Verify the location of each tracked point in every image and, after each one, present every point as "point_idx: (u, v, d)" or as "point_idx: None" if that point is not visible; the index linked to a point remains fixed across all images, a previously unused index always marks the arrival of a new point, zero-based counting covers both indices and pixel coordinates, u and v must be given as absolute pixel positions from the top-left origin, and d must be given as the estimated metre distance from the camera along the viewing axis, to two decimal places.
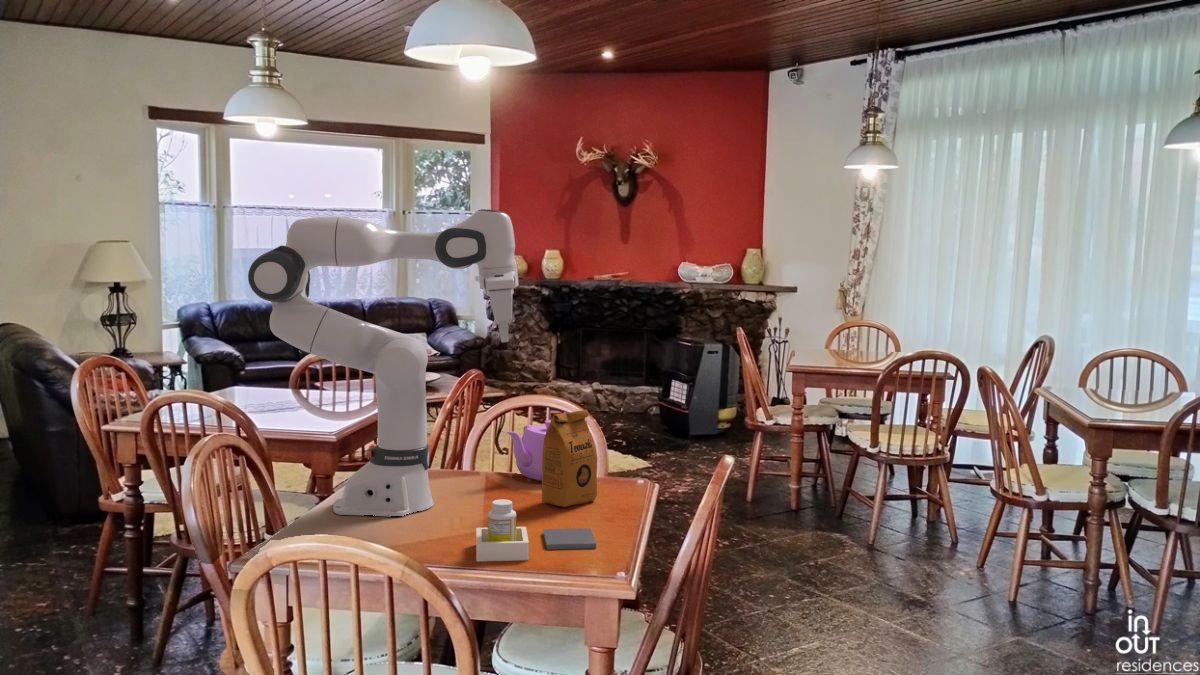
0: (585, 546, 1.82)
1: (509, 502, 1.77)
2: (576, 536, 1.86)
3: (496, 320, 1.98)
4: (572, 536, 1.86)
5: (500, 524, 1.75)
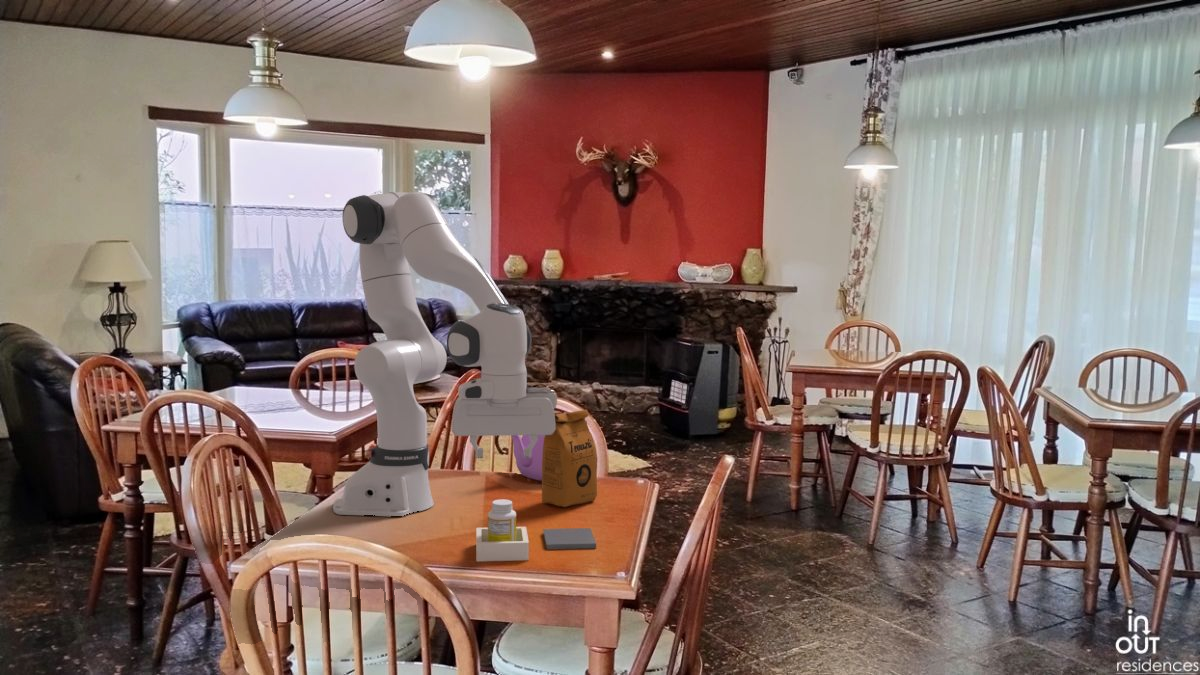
0: (585, 546, 1.82)
1: (509, 502, 1.77)
2: (576, 536, 1.86)
3: None
4: (572, 536, 1.86)
5: (500, 524, 1.75)
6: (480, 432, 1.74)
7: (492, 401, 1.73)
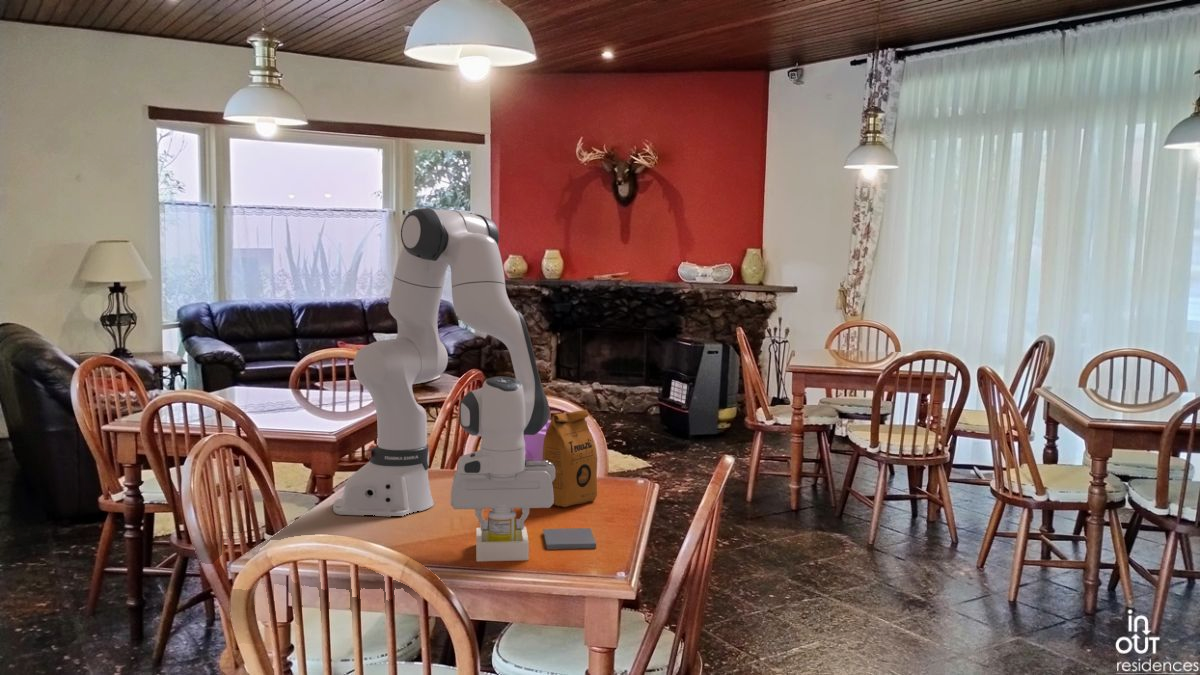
0: (585, 546, 1.82)
1: None
2: (576, 536, 1.86)
3: None
4: (572, 536, 1.86)
5: (500, 524, 1.75)
6: (479, 505, 1.75)
7: (491, 475, 1.74)
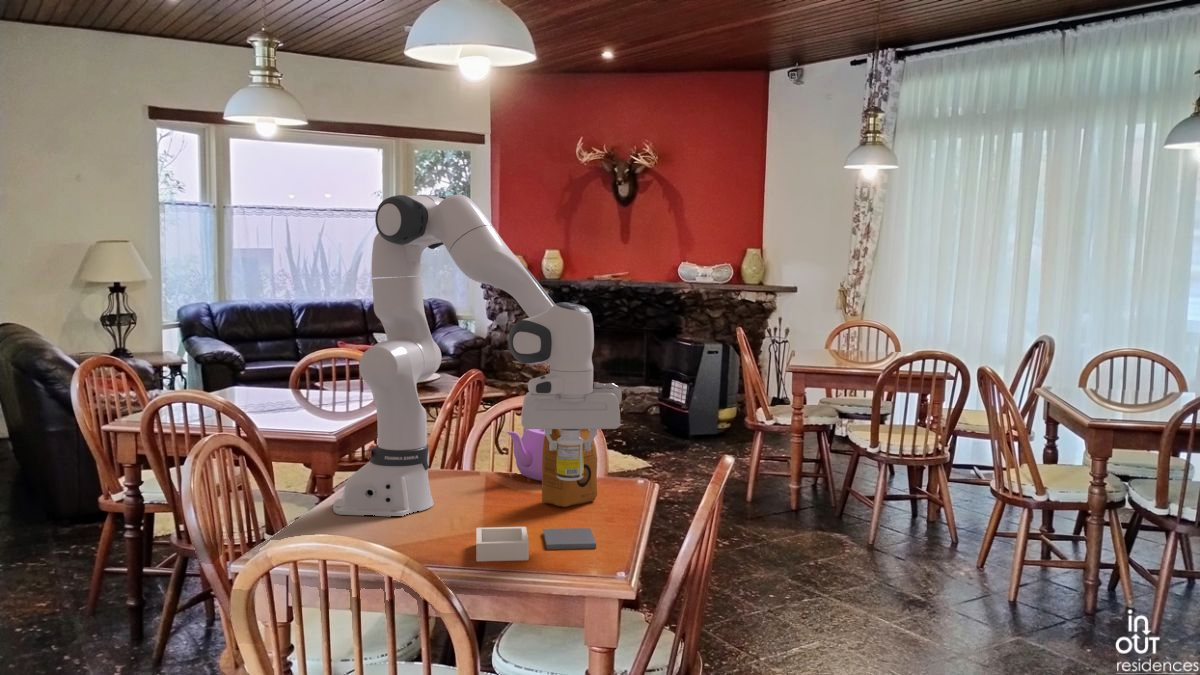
0: (585, 546, 1.82)
1: (577, 429, 1.83)
2: (576, 536, 1.86)
3: None
4: (572, 536, 1.86)
5: (569, 449, 1.81)
6: (549, 426, 1.81)
7: (561, 396, 1.81)
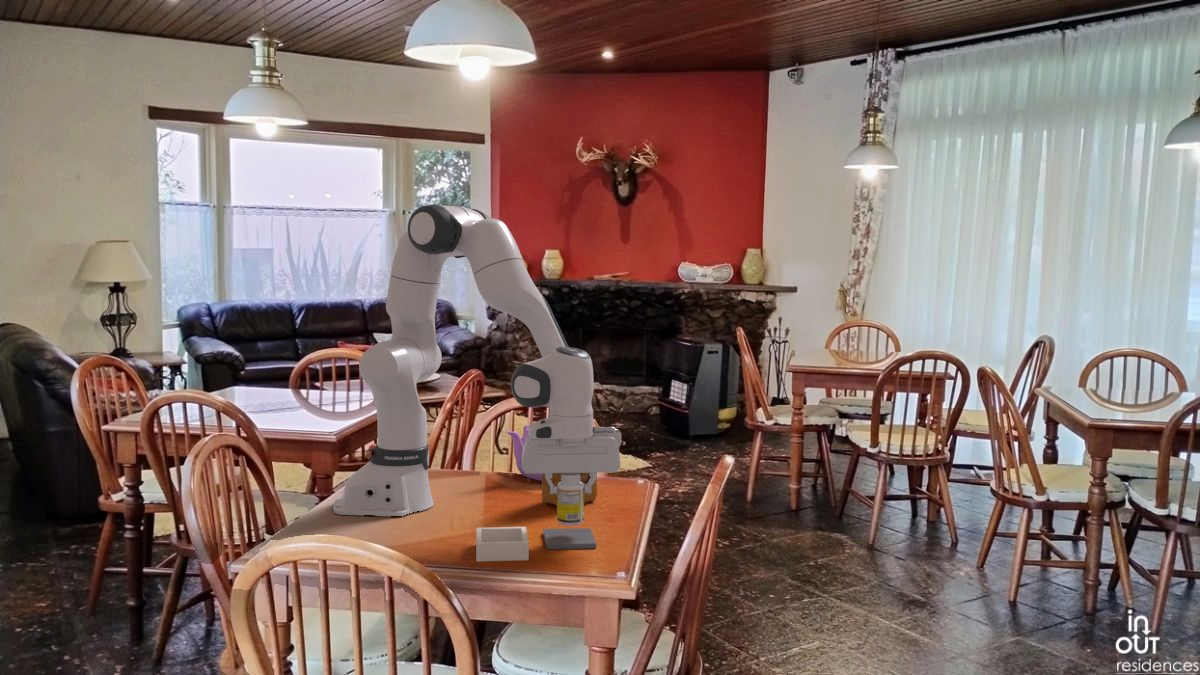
0: (585, 546, 1.82)
1: (577, 474, 1.84)
2: (576, 536, 1.86)
3: None
4: (572, 536, 1.86)
5: (570, 494, 1.82)
6: (549, 470, 1.82)
7: (561, 441, 1.82)
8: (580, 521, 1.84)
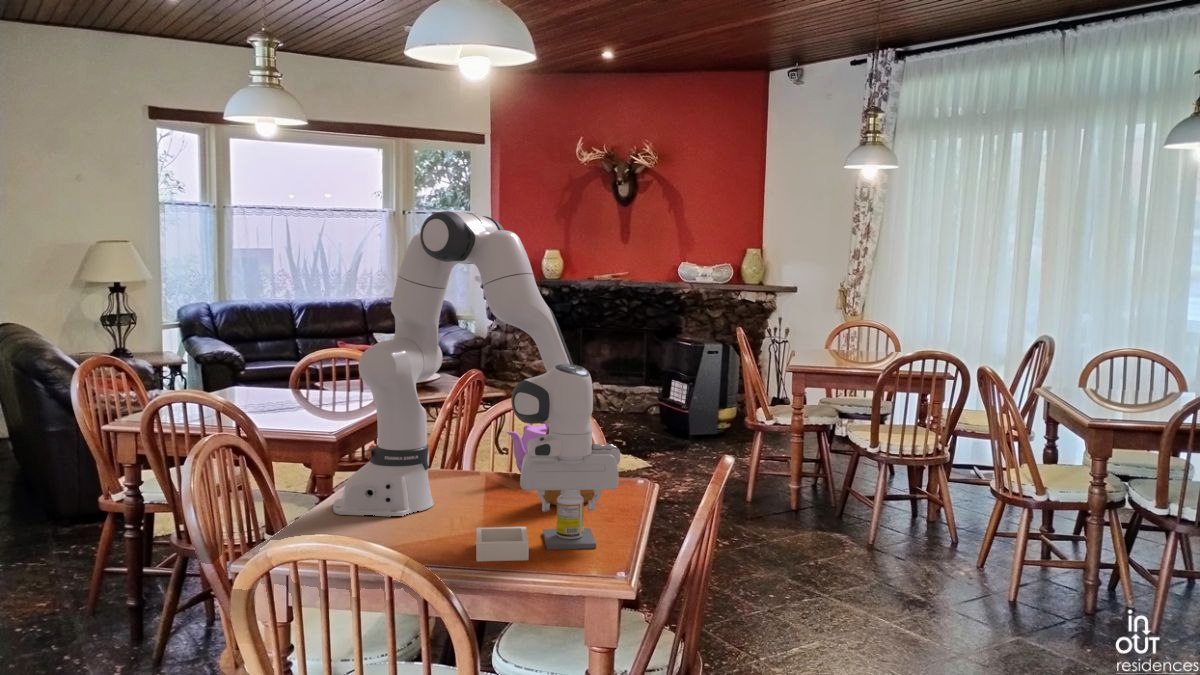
0: (585, 546, 1.82)
1: None
2: None
3: None
4: None
5: (569, 508, 1.83)
6: (548, 487, 1.83)
7: (560, 458, 1.82)
8: (579, 535, 1.84)
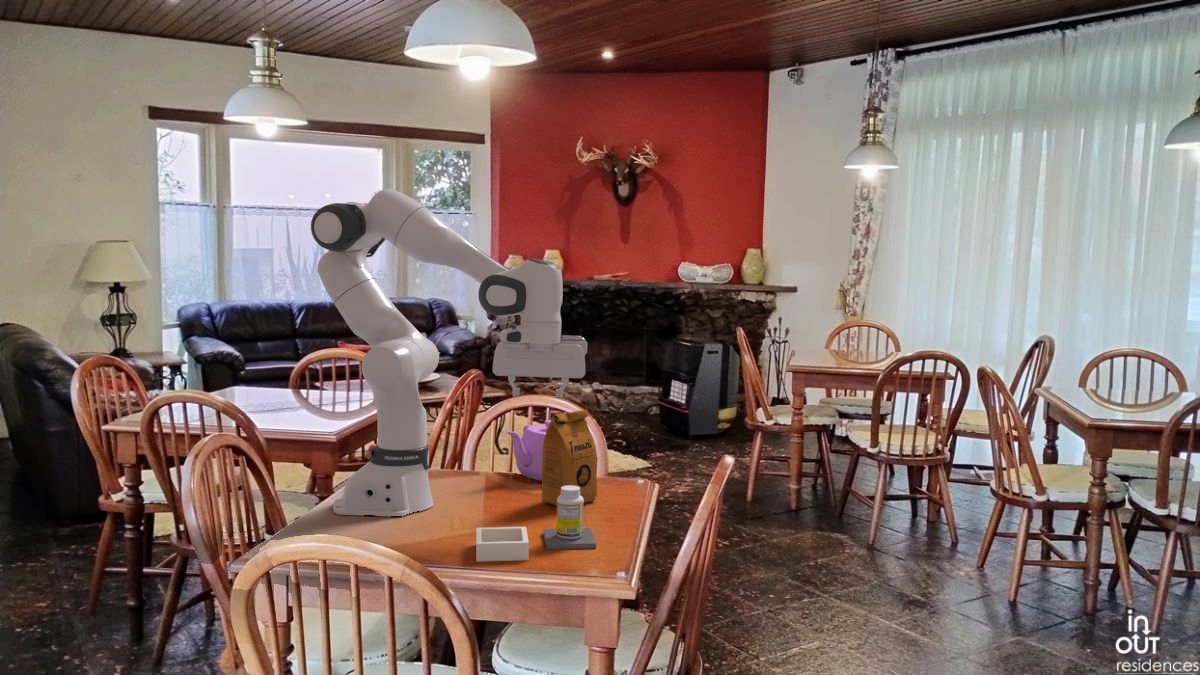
0: (585, 546, 1.82)
1: (577, 488, 1.85)
2: None
3: None
4: None
5: (569, 508, 1.83)
6: (518, 373, 1.94)
7: (530, 345, 1.94)
8: (579, 535, 1.84)
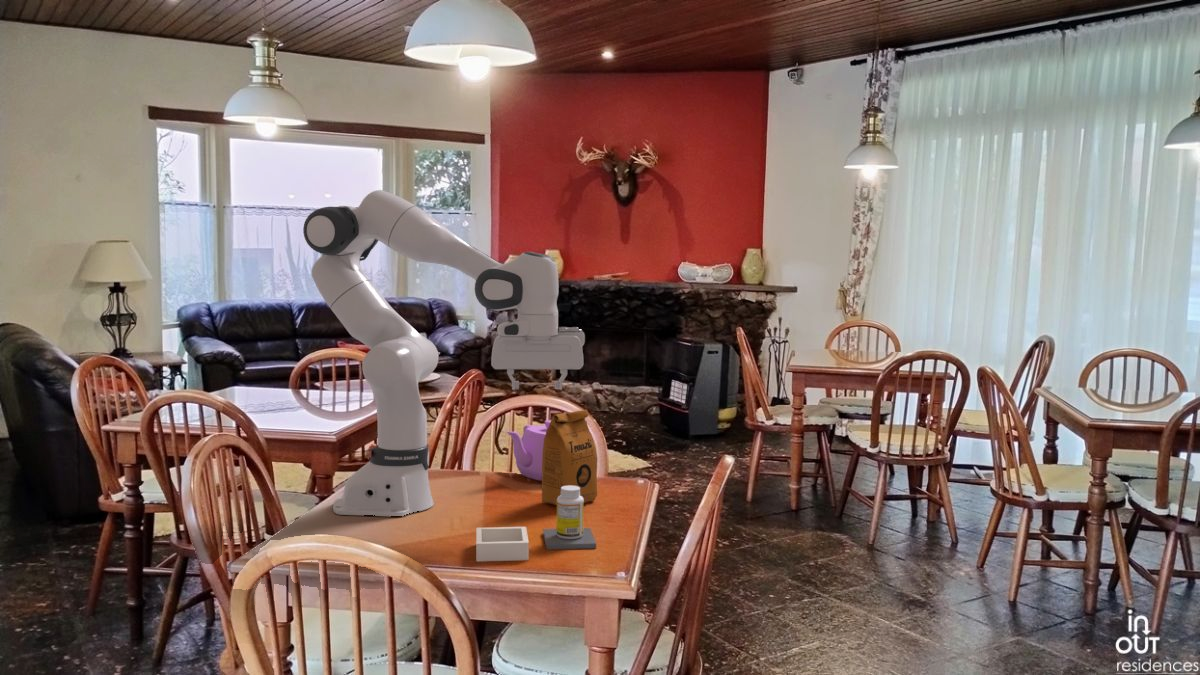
0: (585, 546, 1.82)
1: (577, 488, 1.85)
2: None
3: None
4: None
5: (569, 508, 1.83)
6: (517, 366, 1.95)
7: (528, 338, 1.95)
8: (579, 535, 1.84)
